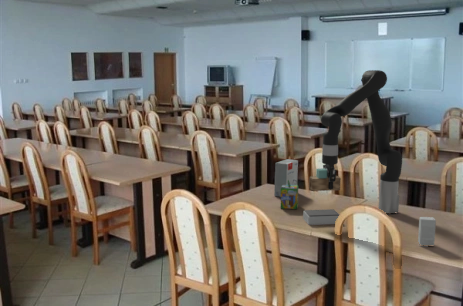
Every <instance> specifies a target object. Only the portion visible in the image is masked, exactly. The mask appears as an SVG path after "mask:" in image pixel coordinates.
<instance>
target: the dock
mask: <svg viewBox="0 0 463 306" xmlns="http://www.w3.org/2000/svg"><path fill="white" fill-rule="evenodd" d="M339 215H341V214H340V213H339V212H338V211H336V210H335V209H333V208H332V209H330V208H329V209H328V208H327V209H304V210H303V212H302V219H303V220H304V222H305V223H307V225H308V226H314V225H315V226H316V225H336V224H335V221H336V219H337V218H338V216H339Z"/></svg>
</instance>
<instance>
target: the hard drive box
mask: <svg viewBox="0 0 463 306" xmlns="http://www.w3.org/2000/svg"><path fill="white" fill-rule="evenodd" d="M298 165H299V160H296V159H288V158H287V159H283V160H281V161H278V162H275V166H274V168H275V169H274V170H275V171H274V191H273V195H274V196H275V197H280V198H281V187H282V185H288V180H289V183H290V185H298V174H299V173H298V170H299V167H298Z"/></svg>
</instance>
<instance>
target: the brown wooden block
mask: <svg viewBox="0 0 463 306" xmlns="http://www.w3.org/2000/svg"><path fill="white" fill-rule="evenodd" d="M328 179H329V178H328V177H327V178H317V177H316V175H315V176H314V175H313V176H309V179H308V182H309V184H308V189H309V190H310V191H311V192H317V191H318V192H322V191H323V192H325V191H341V177H340V176H338V175H336V180H335V181H334V182H333V189H328V184H329V181H328Z"/></svg>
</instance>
